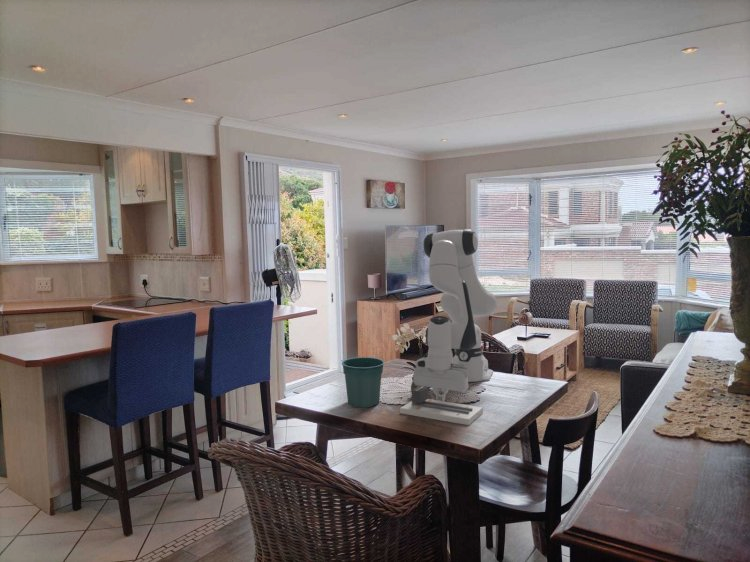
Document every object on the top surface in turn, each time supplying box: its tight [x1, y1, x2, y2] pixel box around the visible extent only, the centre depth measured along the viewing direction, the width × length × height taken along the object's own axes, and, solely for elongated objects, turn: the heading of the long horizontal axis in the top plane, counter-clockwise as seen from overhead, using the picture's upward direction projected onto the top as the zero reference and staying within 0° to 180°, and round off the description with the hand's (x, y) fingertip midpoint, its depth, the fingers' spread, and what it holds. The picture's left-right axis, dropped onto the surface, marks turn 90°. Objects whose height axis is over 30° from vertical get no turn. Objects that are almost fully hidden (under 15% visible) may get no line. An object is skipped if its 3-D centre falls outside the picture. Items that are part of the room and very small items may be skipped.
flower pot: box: [341, 356, 385, 409], centre depth 206 cm, size 16×16×16 cm
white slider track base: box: [399, 398, 484, 426], centre depth 193 cm, size 14×26×3 cm, turn 59°
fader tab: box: [411, 386, 429, 403], centre depth 197 cm, size 6×4×6 cm, turn 149°
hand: (440, 400), depth 193 cm, fingers closed
